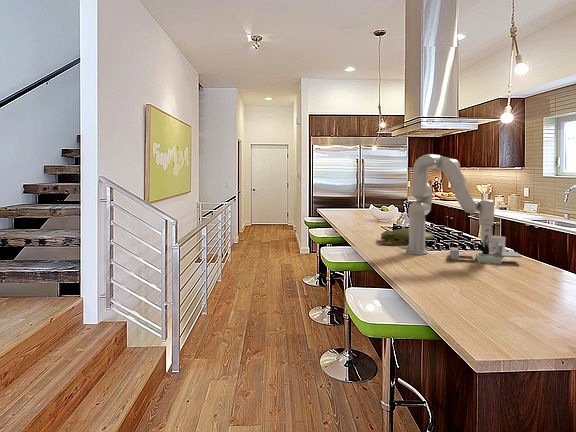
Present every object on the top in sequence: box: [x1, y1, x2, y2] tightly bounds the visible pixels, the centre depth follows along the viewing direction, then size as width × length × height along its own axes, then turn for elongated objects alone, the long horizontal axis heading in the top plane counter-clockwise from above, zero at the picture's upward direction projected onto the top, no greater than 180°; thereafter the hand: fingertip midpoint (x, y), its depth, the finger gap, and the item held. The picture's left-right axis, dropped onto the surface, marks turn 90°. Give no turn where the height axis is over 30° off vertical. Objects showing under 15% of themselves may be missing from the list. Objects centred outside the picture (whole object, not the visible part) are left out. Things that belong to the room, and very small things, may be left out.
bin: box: [475, 251, 503, 265], centre depth 272 cm, size 12×12×4 cm
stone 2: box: [449, 248, 460, 259], centre depth 273 cm, size 4×4×6 cm
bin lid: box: [494, 243, 522, 259], centre depth 268 cm, size 12×12×6 cm
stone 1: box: [449, 246, 459, 254], centre depth 279 cm, size 4×4×6 cm
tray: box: [446, 254, 476, 263], centre depth 276 cm, size 14×13×1 cm
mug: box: [489, 235, 507, 253], centre depth 287 cm, size 12×9×11 cm
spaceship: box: [380, 227, 435, 247], centre depth 332 cm, size 35×31×10 cm
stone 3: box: [481, 251, 494, 257], centre depth 271 cm, size 4×4×6 cm
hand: (484, 252), depth 272 cm, fingers open, 9 cm apart
